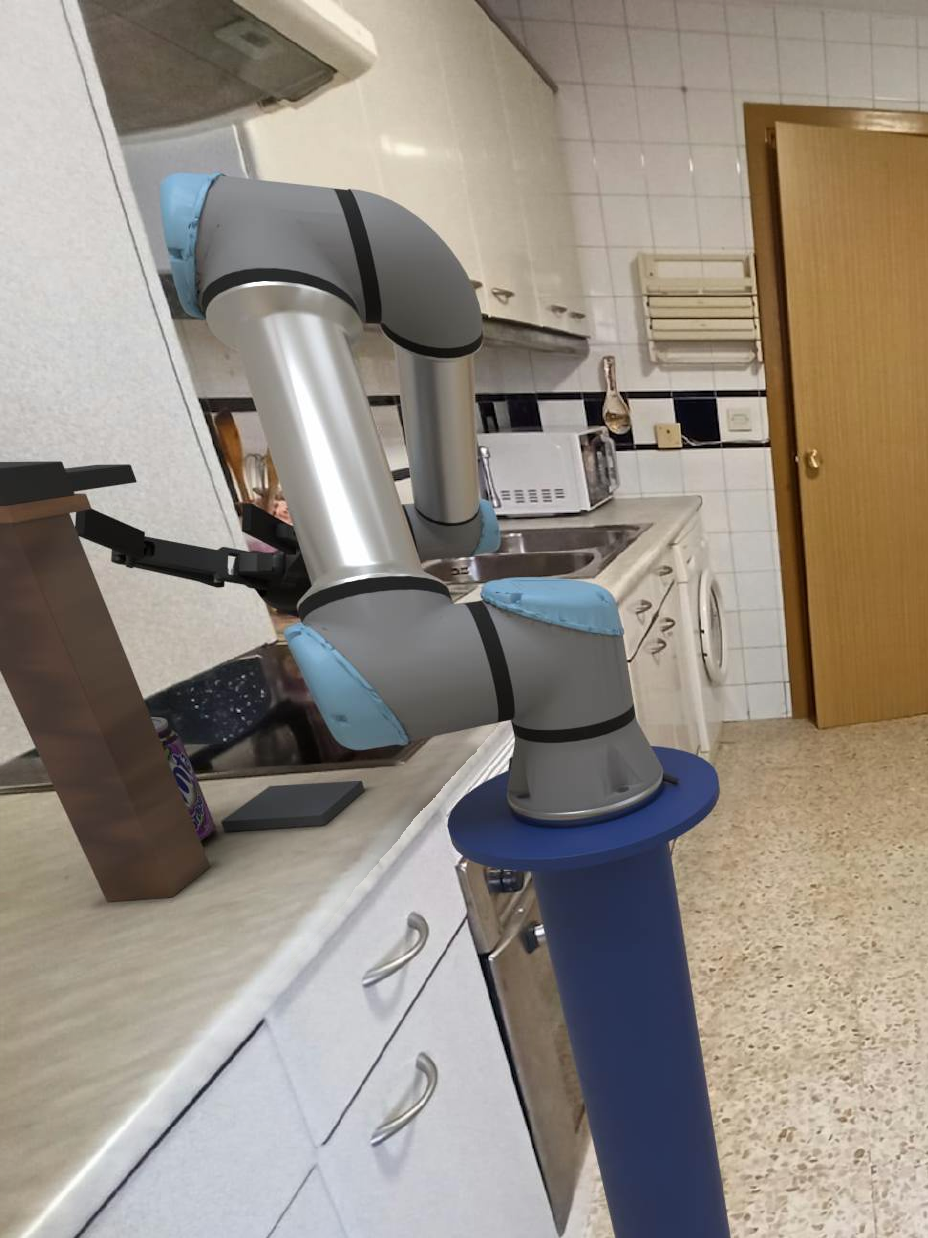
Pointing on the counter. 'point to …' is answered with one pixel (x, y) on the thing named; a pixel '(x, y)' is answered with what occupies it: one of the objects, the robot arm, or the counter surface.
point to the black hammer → (56, 480)
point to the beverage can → (185, 778)
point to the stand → (88, 708)
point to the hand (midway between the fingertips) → (164, 518)
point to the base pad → (293, 806)
